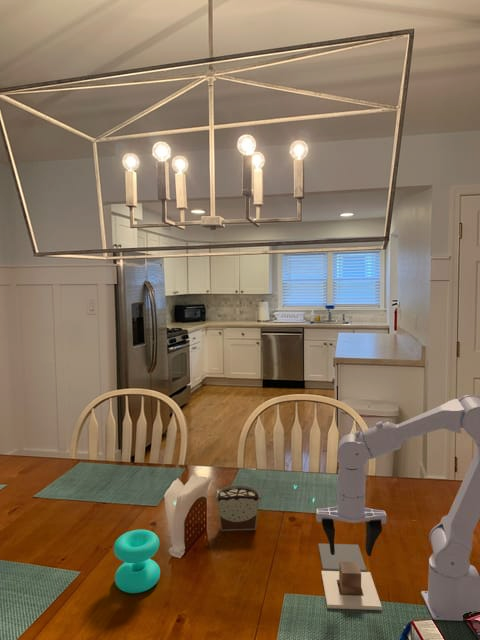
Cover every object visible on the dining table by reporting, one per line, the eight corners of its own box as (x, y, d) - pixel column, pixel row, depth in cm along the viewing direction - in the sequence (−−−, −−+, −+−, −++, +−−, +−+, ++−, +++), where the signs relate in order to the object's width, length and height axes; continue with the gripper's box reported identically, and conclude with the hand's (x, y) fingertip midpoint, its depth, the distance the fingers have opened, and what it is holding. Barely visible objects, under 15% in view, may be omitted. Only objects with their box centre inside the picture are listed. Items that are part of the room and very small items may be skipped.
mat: (358, 546, 118) (358, 544, 118) (366, 571, 108) (366, 569, 108) (318, 544, 118) (318, 543, 118) (322, 569, 108) (322, 568, 108)
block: (357, 585, 103) (357, 562, 103) (360, 598, 99) (361, 573, 99) (339, 584, 103) (339, 561, 103) (341, 597, 99) (342, 573, 99)
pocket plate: (370, 575, 106) (370, 572, 106) (381, 610, 95) (381, 606, 95) (321, 573, 107) (321, 570, 107) (327, 608, 96) (327, 604, 96)
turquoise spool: (132, 558, 97) (104, 541, 103) (134, 603, 98) (105, 583, 104) (168, 537, 105) (140, 522, 111) (169, 578, 106) (141, 561, 112)
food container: (259, 517, 132) (259, 483, 131) (261, 529, 126) (261, 494, 125) (216, 518, 132) (215, 484, 131) (215, 530, 125) (215, 495, 124)
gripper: (381, 484, 103) (380, 542, 104) (315, 482, 103) (314, 541, 105) (389, 499, 96) (388, 562, 97) (318, 498, 96) (317, 560, 98)
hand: (350, 552), depth 100 cm, fingers open, 7 cm apart
